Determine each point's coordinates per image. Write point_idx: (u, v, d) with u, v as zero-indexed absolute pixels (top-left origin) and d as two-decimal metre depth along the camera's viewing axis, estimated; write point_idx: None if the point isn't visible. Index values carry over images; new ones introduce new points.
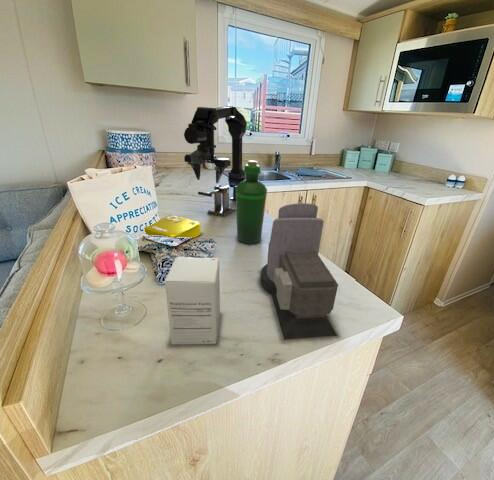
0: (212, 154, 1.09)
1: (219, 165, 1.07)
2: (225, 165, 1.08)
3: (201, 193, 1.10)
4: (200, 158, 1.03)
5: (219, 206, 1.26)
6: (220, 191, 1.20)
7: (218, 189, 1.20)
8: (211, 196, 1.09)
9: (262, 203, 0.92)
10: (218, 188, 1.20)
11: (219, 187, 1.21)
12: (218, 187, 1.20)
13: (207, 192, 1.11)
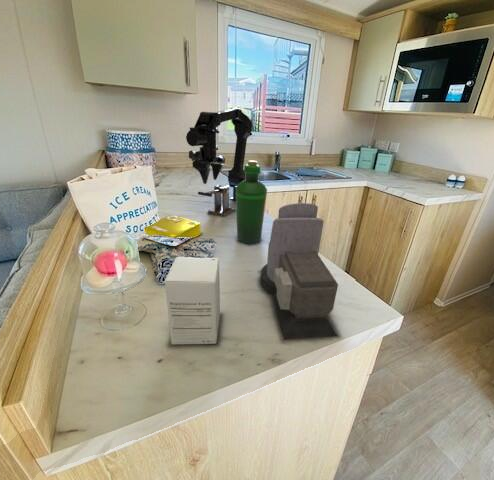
0: (205, 156, 1.15)
1: None
2: (195, 166, 1.11)
3: (201, 193, 1.10)
4: None
5: (219, 206, 1.26)
6: (220, 191, 1.20)
7: (218, 189, 1.20)
8: (211, 196, 1.09)
9: (262, 203, 0.92)
10: (218, 188, 1.20)
11: (219, 187, 1.21)
12: (218, 187, 1.20)
13: (207, 192, 1.11)
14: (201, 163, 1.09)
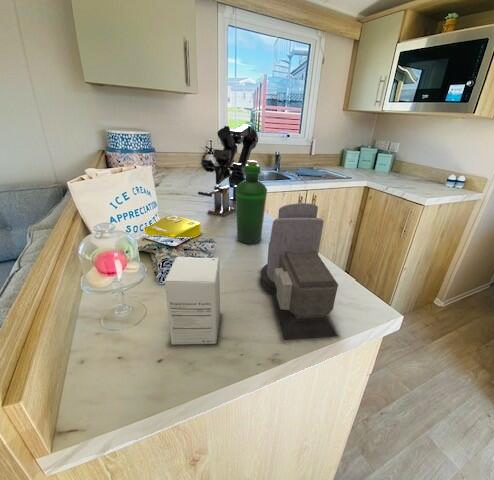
0: (230, 162, 1.19)
1: (237, 166, 1.15)
2: (242, 169, 1.16)
3: (201, 193, 1.10)
4: (224, 152, 1.12)
5: (219, 206, 1.26)
6: (220, 191, 1.20)
7: (218, 189, 1.20)
8: (211, 196, 1.09)
9: (262, 203, 0.92)
10: (218, 188, 1.20)
11: (219, 187, 1.21)
12: (218, 187, 1.20)
13: (207, 192, 1.11)
14: None
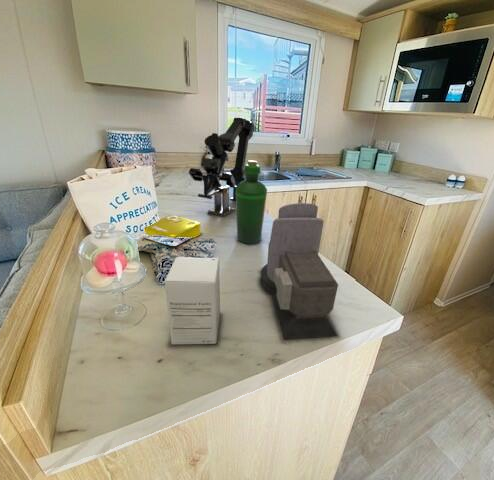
0: (220, 171, 1.13)
1: (226, 175, 1.08)
2: (231, 178, 1.09)
3: (201, 195, 1.10)
4: (212, 161, 1.05)
5: (219, 206, 1.26)
6: (220, 191, 1.20)
7: (218, 189, 1.20)
8: (211, 198, 1.10)
9: (262, 203, 0.92)
10: (218, 188, 1.20)
11: (219, 187, 1.21)
12: None
13: None
14: (234, 180, 1.12)
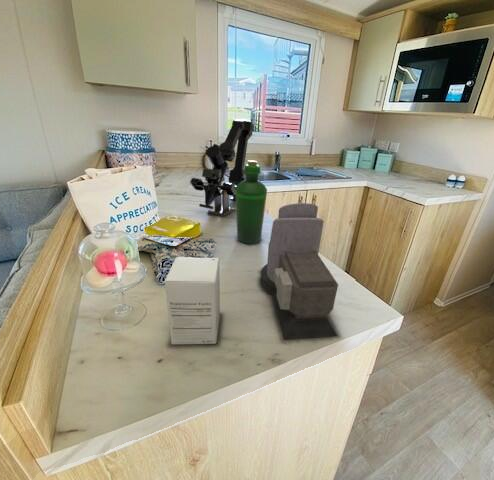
0: (220, 181, 1.15)
1: (227, 186, 1.10)
2: (232, 188, 1.11)
3: (202, 206, 1.13)
4: (213, 171, 1.08)
5: (219, 206, 1.26)
6: None
7: None
8: (212, 208, 1.12)
9: (262, 203, 0.92)
10: None
11: None
12: None
13: None
14: (235, 189, 1.14)
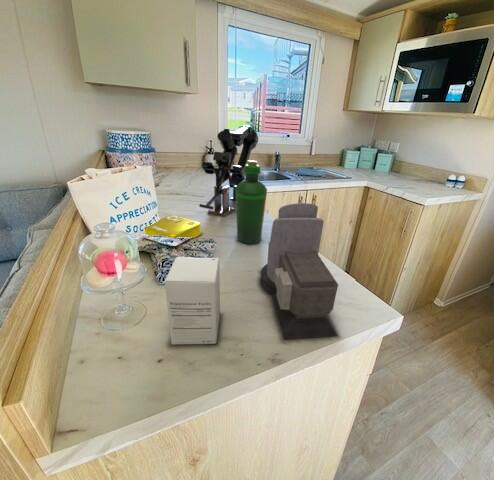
0: (230, 164, 1.20)
1: (237, 168, 1.15)
2: (242, 171, 1.16)
3: (202, 206, 1.13)
4: (224, 154, 1.12)
5: (219, 206, 1.26)
6: (220, 193, 1.20)
7: (218, 190, 1.20)
8: (212, 208, 1.12)
9: (262, 203, 0.92)
10: (218, 190, 1.20)
11: (218, 188, 1.20)
12: None
13: (208, 203, 1.14)
14: (244, 172, 1.19)
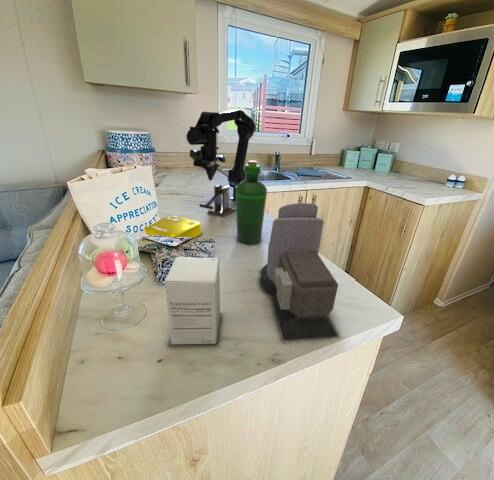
0: (206, 155, 1.17)
1: None
2: (196, 164, 1.13)
3: (202, 206, 1.13)
4: None
5: (219, 206, 1.26)
6: (220, 193, 1.20)
7: (218, 190, 1.20)
8: (212, 208, 1.12)
9: (262, 203, 0.92)
10: (218, 190, 1.20)
11: (218, 188, 1.20)
12: None
13: (208, 203, 1.14)
14: (202, 162, 1.12)
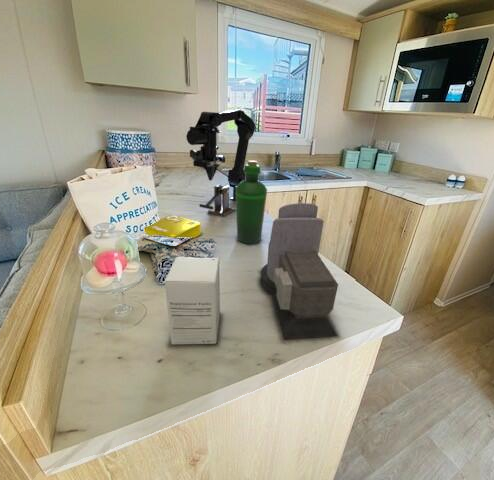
0: (206, 155, 1.17)
1: None
2: (196, 164, 1.13)
3: (202, 206, 1.13)
4: None
5: (219, 206, 1.26)
6: (220, 193, 1.20)
7: (218, 190, 1.20)
8: (212, 208, 1.12)
9: (262, 203, 0.92)
10: (218, 190, 1.20)
11: (218, 188, 1.20)
12: None
13: (208, 203, 1.14)
14: (202, 162, 1.12)
